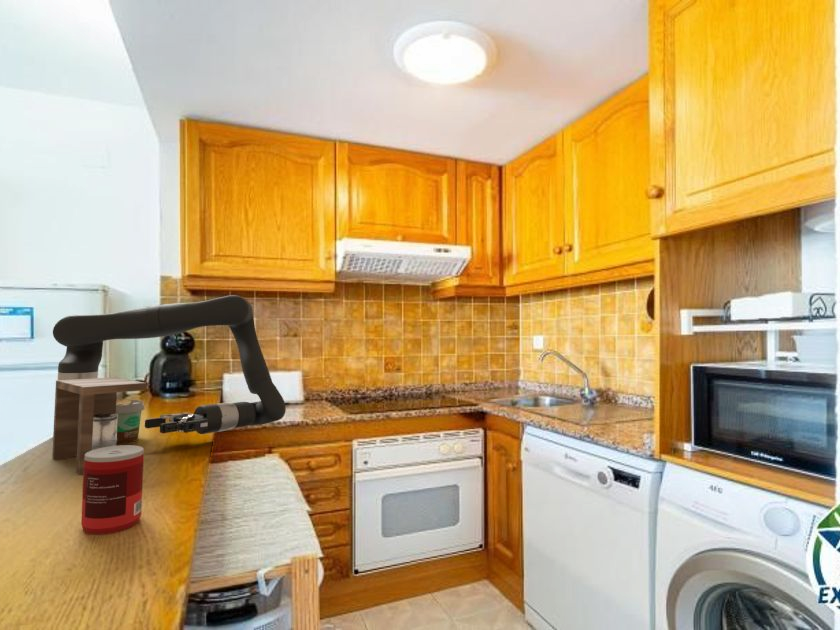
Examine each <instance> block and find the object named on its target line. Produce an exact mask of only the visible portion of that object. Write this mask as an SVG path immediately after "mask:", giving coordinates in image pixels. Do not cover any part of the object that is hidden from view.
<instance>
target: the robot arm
mask: <svg viewBox="0 0 840 630" xmlns="http://www.w3.org/2000/svg"><path fill="white" fill-rule="evenodd" d="M253 311H254V310H253V307H252V304H251V303H250V302H249V301H248V300H246V299H245V298H244V297H243V296H241V295H240V296H239V295H235V294H231V295H226V296H222V297H220V296H219V297H216V298H212V299H207V300H202V301H195V302H194V301H193V302H179V303H178V302H176V303H175V302H174V303H166V304H156V305H149V306H143V307H137V308H130V309H125V310H121V311H116V312H111V313H104V314H103V313H102V314H101V313H99V314H72V315H66V316H64V317H63V318H61V319H60V320H58V321H57V322H56V323H55V325H54V327H53V328H52V335H53V338H54V339H55V341H56V342H57V343H59V344H60V345H62V346H64V347H66V351H65V355H64V357H63V358H62V359H61V360H60V361H59V362H58V365H57V367H58V368H57V372H58V373H57V380H75V379H93V378H99V366H100V364H101V361H102V359H103V348H104V341H110V340H136V339H137V340H140V339H155V338H160V337H161V338H162V337H168V336H175V335H177V334H182V333H186V332H188V331H190V330H193V329H198V328H202V327H203V328H204V327H212V326H213V327H214V326H228V327H229V330H230V331H231V334H232V335H233V338H234V340H235V342H236V346H237V349H238V355H239V360H240V366H241V370H242V373H243V378H244V379H245V380H244V381H245V383H246V386H247V388H248V390H249V393H250V394H252V395H257V396H258V398H259V399H260V400H259V401H254V402H253V401H252V402H249V401H239V402H222V403H221V402H220V403H211V404H202V405H198V406H197V407H196V408H195V410H194V412H193V413H191V412H180V413H171V414H161V415H160V416H159V417H154V418H153V417H151V418H147V419H145V420H144V428H145V429H152V428H153V429H155V428H159V433H161V434H168V433H174V432H178V433H191V432H196V433H198V434H199V435H207V434H212V433H219V432H224V431H229V430H231V429H239V428H245V427H247V426H260V425H266V424H267V425H268V424H271V423H275V422H278V421H280V420H282V419H283V418H284V417H285V415H286V414H285V413H286V411H287V408H286V402H285V400H284V397H283V396H282V395H281V393H280V391H279V389H278V388H277V386H276V385H275V384H274V383H273V380H272V377H271V374H270V370H269V368H268V366H267V363H266V359H265V357H264V355H263V352H262V349H261V346H260V343H259V339H258V335H257V331H256V328H255V319H254V314H253V313H254V312H253ZM167 419H168V421H167Z"/></svg>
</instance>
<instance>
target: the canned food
mask: <svg viewBox="0 0 840 630" xmlns="http://www.w3.org/2000/svg"><path fill="white" fill-rule="evenodd" d="M144 453H145V452H144V447H142V446H140V445H134V444H133V445H130V444H128V445H127V444H126V445H125V444H118V445H116V446H109V447H103V448H98V449H95V450H91V451H89V452H87V453H86V454H85V458H84V470H83V474H82V496H81V497H82V498H81V523H80V524H81V527H82V531H83V532H85V533H87V534H91V535H108V534H113V533H118V532H121V531H122V532H123V531H126V530H128V529H130V528H132V527H134V526H135V525H137V524H138V523H139V521H140V519H141V517H142V505H143V503H142V502H143V501H142V500H143V485H144V484H143V481H144V459H145V458H144V457H145V455H144Z"/></svg>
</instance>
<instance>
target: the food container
mask: <svg viewBox="0 0 840 630" xmlns="http://www.w3.org/2000/svg"><path fill="white" fill-rule="evenodd" d="M144 410H145V404H144V403H143V401H142V400H140V399H131V401H130V402H129V403H124V404H116V414H118V418H117V441H116V445H124V444H130V443H132V442H136V441H138V439H139V435H140V434H139V433H140V426H141V419H142V418H141V417H142V411H144Z"/></svg>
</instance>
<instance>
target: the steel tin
mask: <svg viewBox="0 0 840 630" xmlns="http://www.w3.org/2000/svg"><path fill="white" fill-rule="evenodd" d="M117 418H118V414H116V413H105V414H96V415H93V437H92V450H95V449H98V448H103V447H109V446H117V444H116V441H117Z"/></svg>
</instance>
